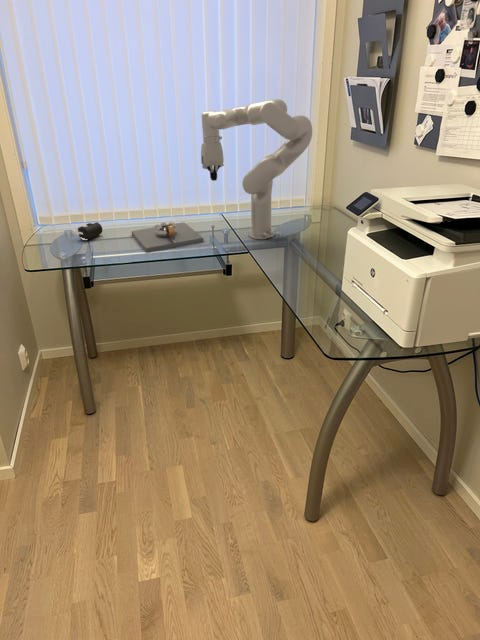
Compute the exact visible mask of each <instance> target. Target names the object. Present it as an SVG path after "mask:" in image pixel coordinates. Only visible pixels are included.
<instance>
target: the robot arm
mask: <svg viewBox="0 0 480 640" xmlns="http://www.w3.org/2000/svg"><path fill="white" fill-rule="evenodd" d="M262 124H266V125H267V126H268V127H269V128H271V129H272V130H273V131H275V132H276V133H277V134H278V135H279V136H281V137H283V139H285V140H286V141H285V142H284V143H283V144H282V145H281V146H280V147H279V148H278V149H277V150H276V151H274V152H273V153H271V154H269V155H267V156H265V157H264V158H262V159H261V160H259V161H258V162H257V163H256V164H255V165H254V166H253V167H252V168H251V169H250V170H249V171H248V172H247V173H246V174H245V175H244V177H243V179H242V188H243V190H244V192H245V193H247V194H249V195H251V197H250V209H251V210H250V212H251V213H250V214H251V215H250V216H251V217H250V218H251V230H250V231H249V232H248V237H249V238H250V239H254V240H268V239H267V238H269V239H271V238H270V237H272V238H273V237H275V231H273V230H272V193H273V192H272V191H273V183H274V182H273V181H274V179H275V178H278V177H279V176H280V175H282V174H283V173H284V172H285V171H286V170H287V169H288V168H289V167H290V166H291V165H293V163H294V162H295V161H296V160H297V159H298V158H300V156H301V155H302V154H303V153H304V152H305V151H306V150H307V148H308V146H309V145H310V143H311V141H312V138H313V125H312V122H311V120H310V119H309V118H308V117H307V116H305V115H296V116H291V115H289V114H288V106H287V103H286V102H285V101H284V100H283V99H280V98H278V99H271V100H266V101H260V102H256V103H254V102H253V103H250V104H248V105H246V106H245V105H244V106H241V107H236V108H230V109H223V110H220V111H216V110H205V111H202V112H201V128H202V141H203V142H202V143H201V146H200V147H201V148H200V149H201V150H200V163H201V165H202V167H201V168H202V169H203V170H208V171H209V175H210V176H209V178H210V180H211V181H214V182H215V181H217V180H218V179H217V178H218V172H219V169H220V168H222V167H224V166H225V165H224V160H225V159H224V151H223V145H222V142H221V140H223V137H222V135H220V130H226V129H230V128H233V127H237V126H238V127H239V126H244V125H252V126H257V125H262Z"/></svg>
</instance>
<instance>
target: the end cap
mask: <svg viewBox="0 0 480 640" xmlns="http://www.w3.org/2000/svg"><path fill="white" fill-rule="evenodd" d="M77 232H78V237H79V238H81V237H82V238H85V239H90V240H92V239H94V238H96V236H97V237H98V235H99V236H100V235H101V234H102V233H103V227H102V225H101V224H100V222H97V221H96V222H94V223H91V222H90V223H86V226H79V227H77ZM81 233H82V234H81ZM91 238H92V239H91Z"/></svg>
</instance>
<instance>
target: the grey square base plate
mask: <svg viewBox="0 0 480 640" xmlns="http://www.w3.org/2000/svg"><path fill="white" fill-rule="evenodd" d="M174 225H176V232H177V233H176V235H175V239H174V240H171V239H170V238H169V237H158V236H156V231H155V226H154V227H148V228H141V229H135V230H131V236H132V237H133V238H134V239H135V240H136V242H138V244H139V245H140V246H141V247H142V249H143V250H144V251H145V253H150V252H156V251H160V250H161V251H162V250H167V249H171V248H177V247H183V246H189V245H194V244H198V243H199V244H200V243H204V236H202V235H201V234H199V233H198V232H197V231H196V230H195V229H193V228H192V227H191V226H190V225H188V224H187V223H186V222H184V221H182V222H177V223H174Z"/></svg>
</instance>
